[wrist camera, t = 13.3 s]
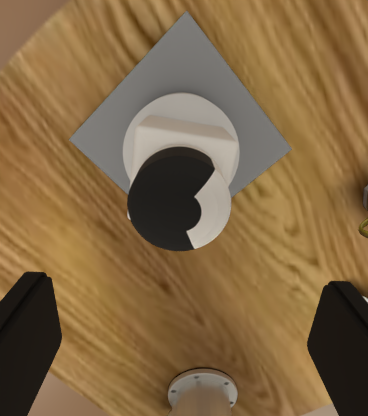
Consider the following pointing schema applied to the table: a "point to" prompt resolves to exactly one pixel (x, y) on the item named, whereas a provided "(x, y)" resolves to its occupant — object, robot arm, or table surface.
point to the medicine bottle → (180, 182)
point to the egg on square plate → (181, 107)
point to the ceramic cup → (367, 205)
